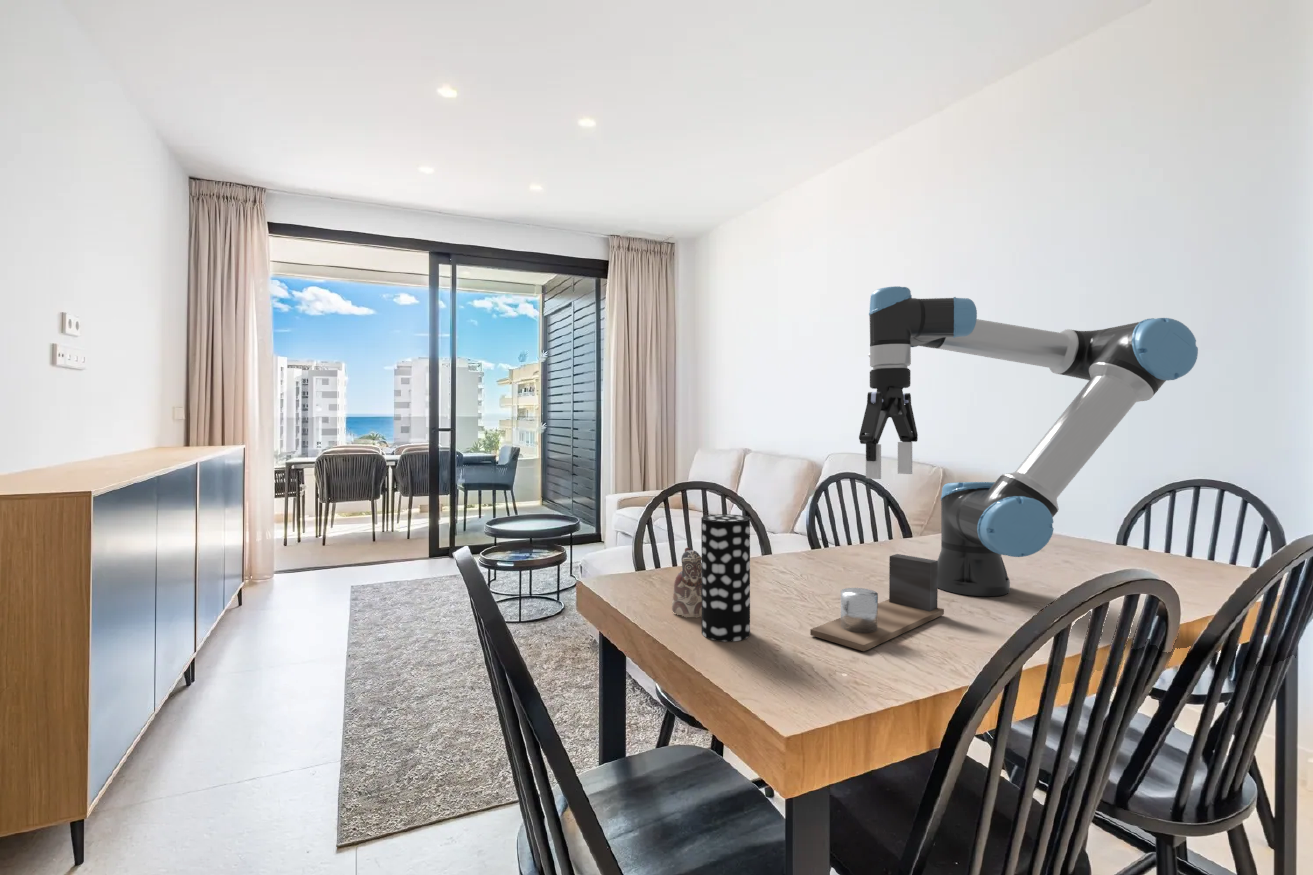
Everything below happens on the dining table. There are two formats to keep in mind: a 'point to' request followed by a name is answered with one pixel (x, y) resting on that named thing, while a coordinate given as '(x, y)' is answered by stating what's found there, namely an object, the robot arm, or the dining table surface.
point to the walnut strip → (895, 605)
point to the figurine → (688, 586)
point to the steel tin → (859, 610)
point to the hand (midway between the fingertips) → (889, 476)
